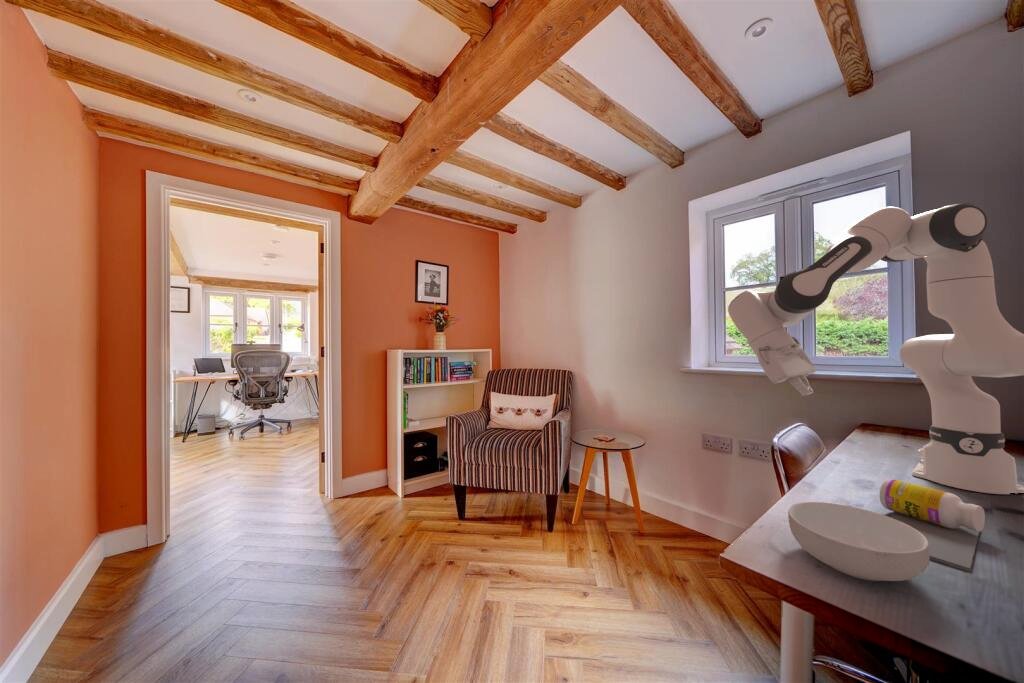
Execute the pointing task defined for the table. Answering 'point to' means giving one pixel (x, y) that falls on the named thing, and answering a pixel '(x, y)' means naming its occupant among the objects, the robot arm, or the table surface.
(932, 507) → the supplement bottle
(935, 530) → the mat
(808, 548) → the cereal bowl
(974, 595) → the table surface
